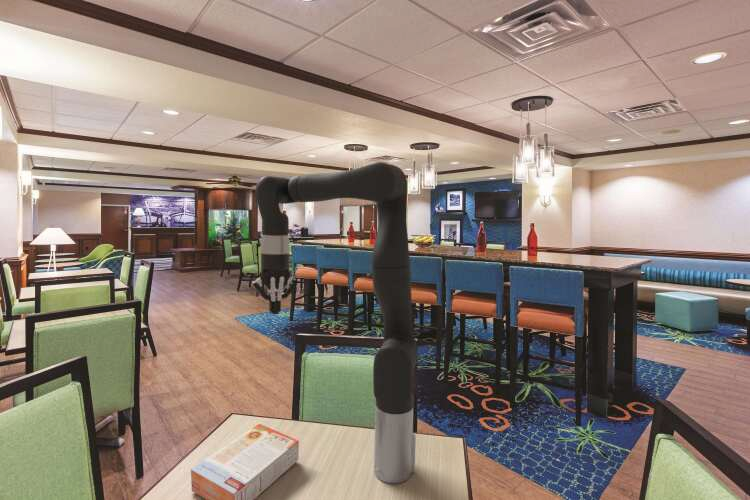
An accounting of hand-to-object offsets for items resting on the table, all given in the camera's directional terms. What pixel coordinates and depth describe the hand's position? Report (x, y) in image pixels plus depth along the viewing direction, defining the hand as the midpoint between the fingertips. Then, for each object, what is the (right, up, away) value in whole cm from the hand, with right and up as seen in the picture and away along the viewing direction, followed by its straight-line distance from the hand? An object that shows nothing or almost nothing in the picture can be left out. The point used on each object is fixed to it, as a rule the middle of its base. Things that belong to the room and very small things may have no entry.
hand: (274, 313), depth 107 cm
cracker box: (+3, -33, -5) cm, 33 cm away
